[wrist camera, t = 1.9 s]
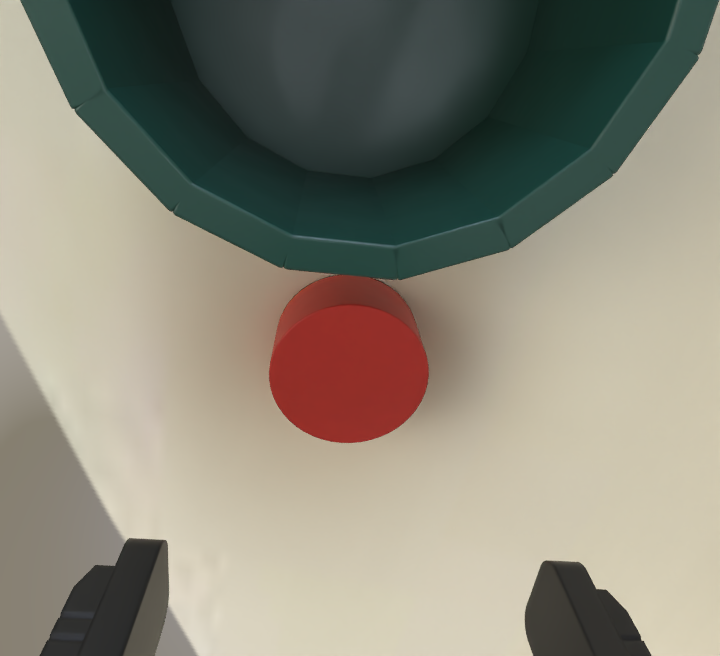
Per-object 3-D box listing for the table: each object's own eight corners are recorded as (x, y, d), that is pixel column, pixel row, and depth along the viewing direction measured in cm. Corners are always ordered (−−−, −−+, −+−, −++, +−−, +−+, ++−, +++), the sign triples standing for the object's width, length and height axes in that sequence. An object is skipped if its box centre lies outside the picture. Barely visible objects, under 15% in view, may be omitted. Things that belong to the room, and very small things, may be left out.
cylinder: (427, 281, 21) (442, 312, 18) (405, 404, 24) (415, 448, 21) (280, 266, 21) (273, 297, 18) (272, 394, 23) (265, 438, 20)
